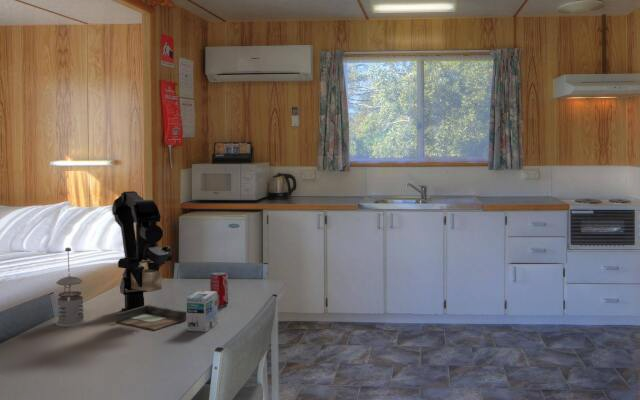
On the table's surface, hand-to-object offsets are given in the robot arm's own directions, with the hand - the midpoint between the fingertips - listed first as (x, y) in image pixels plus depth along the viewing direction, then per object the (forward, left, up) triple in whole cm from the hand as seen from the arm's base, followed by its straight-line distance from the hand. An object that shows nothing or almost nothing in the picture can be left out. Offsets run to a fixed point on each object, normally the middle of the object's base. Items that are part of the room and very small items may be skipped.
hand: (146, 285), depth 225 cm
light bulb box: (+21, +3, -12) cm, 25 cm away
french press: (-21, -15, -12) cm, 28 cm away
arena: (+2, -1, -12) cm, 12 cm away
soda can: (+7, +27, -12) cm, 31 cm away
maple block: (0, 0, -1) cm, 1 cm away
